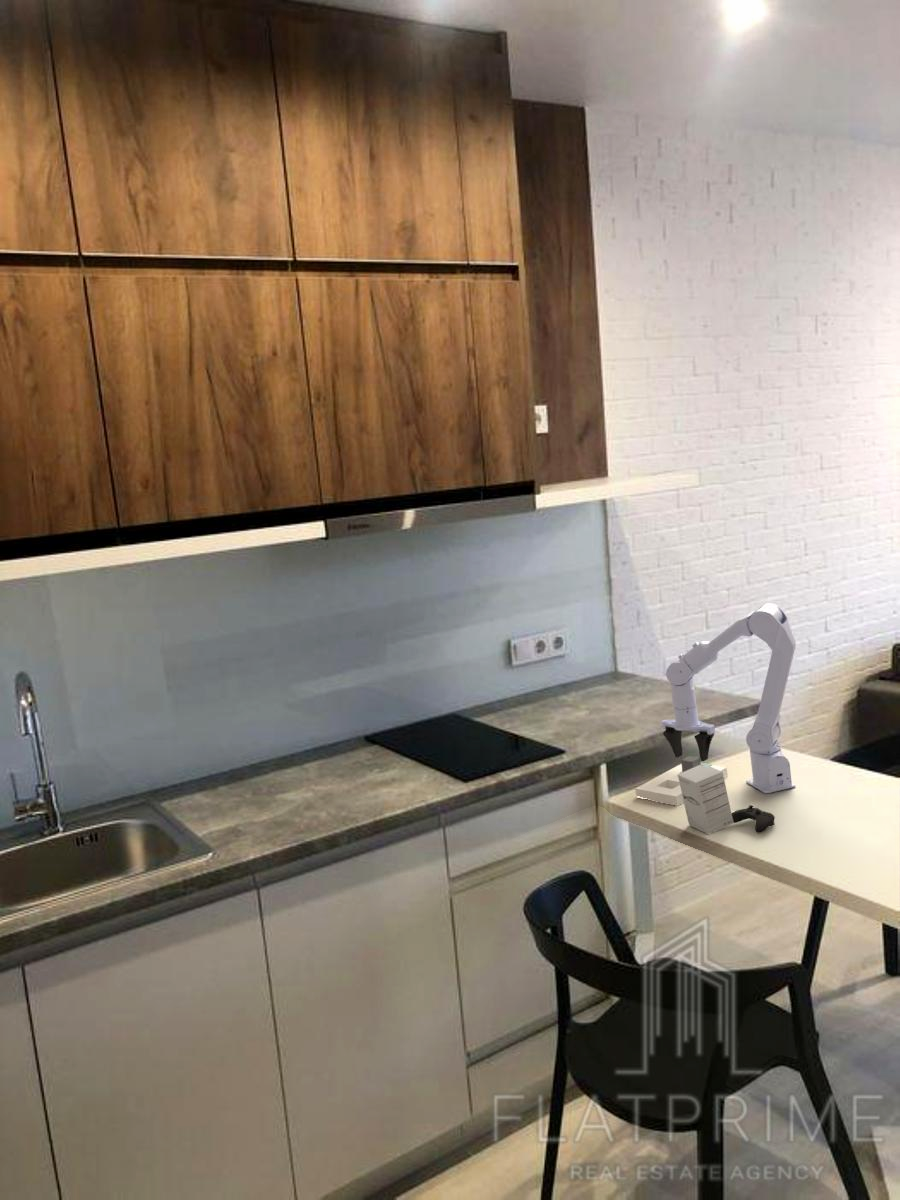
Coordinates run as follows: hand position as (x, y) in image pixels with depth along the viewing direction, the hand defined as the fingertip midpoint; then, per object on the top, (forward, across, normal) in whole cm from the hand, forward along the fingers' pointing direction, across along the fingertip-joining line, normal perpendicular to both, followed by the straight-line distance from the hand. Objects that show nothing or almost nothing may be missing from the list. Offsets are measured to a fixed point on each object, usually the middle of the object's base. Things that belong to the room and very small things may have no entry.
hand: (691, 758), depth 235 cm
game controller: (+6, +27, -18) cm, 33 cm away
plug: (+6, 0, 0) cm, 6 cm away
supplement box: (+6, +19, -22) cm, 30 cm away
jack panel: (+6, 0, -5) cm, 8 cm away
